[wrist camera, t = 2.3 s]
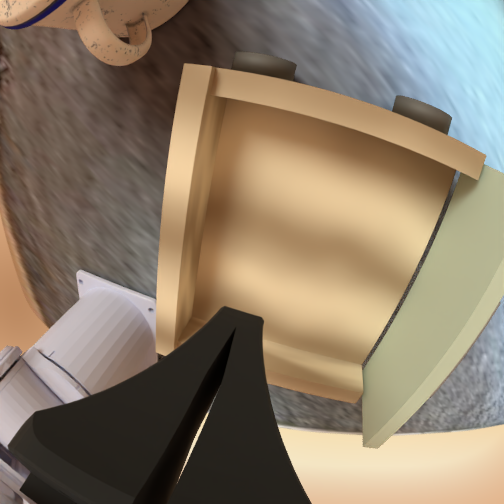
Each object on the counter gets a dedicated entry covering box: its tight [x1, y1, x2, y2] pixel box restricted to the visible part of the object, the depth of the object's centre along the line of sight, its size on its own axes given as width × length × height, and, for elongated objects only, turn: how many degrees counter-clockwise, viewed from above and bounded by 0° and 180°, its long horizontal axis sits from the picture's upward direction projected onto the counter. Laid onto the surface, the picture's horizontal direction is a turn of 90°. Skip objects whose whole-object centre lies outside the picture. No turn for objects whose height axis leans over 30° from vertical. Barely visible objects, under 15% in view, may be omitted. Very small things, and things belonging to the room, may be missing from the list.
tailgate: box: [362, 164, 504, 448], centre depth 13 cm, size 15×2×6 cm, turn 168°
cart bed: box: [156, 52, 486, 403], centre depth 16 cm, size 18×13×5 cm
